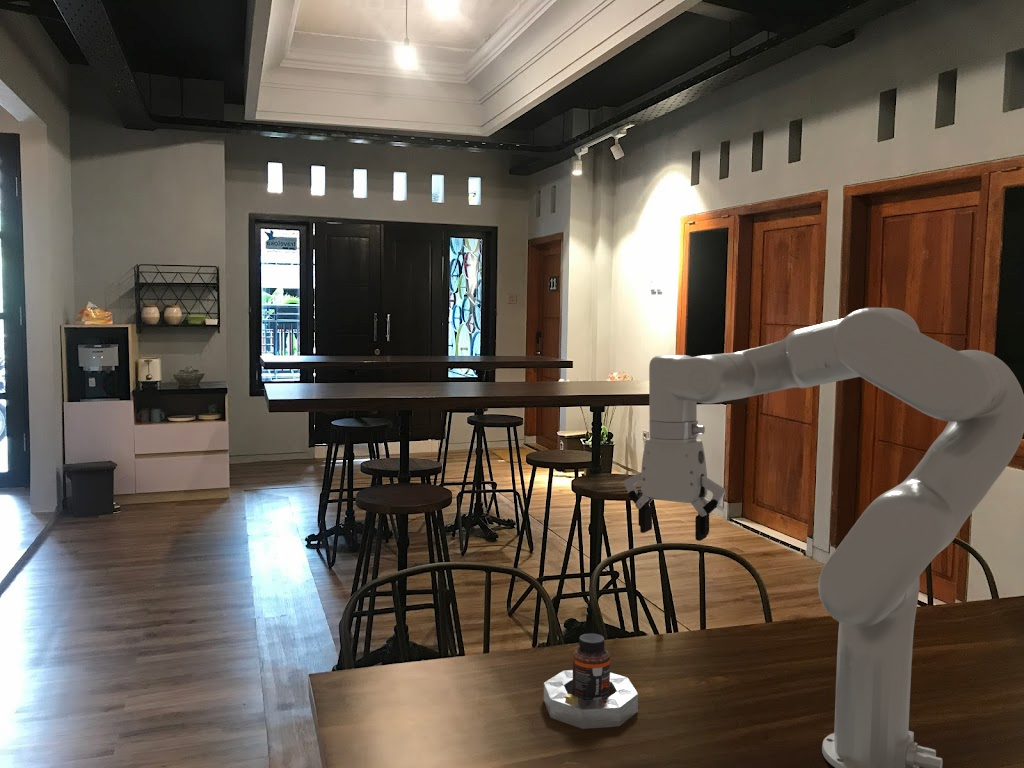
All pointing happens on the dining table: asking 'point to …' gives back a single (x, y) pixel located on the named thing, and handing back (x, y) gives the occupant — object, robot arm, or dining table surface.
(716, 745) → the dining table surface
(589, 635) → the supplement bottle
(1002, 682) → the dining table surface
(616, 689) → the grey octagonal ring
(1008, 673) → the dining table surface
